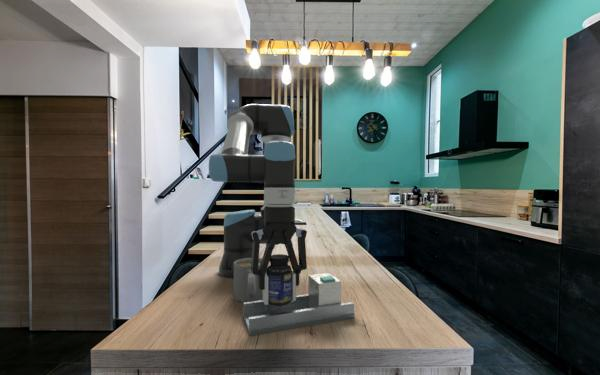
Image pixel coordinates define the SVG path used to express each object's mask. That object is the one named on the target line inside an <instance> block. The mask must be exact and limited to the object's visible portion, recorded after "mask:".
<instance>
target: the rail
mask: <svg viewBox="0 0 600 375" xmlns="http://www.w3.org/2000/svg"><path fill="white" fill-rule="evenodd" d="M242 317H243V320H244V323H245V324H244V325H245V326H246V329H247V332H248V336H249V337H251V336H256V335H263V334H267V333H274V332H279V331H286V330H291V329H297V328H303V327H304V328H305V327H309V326H315V325H322V324H326V323H334V322H339V321H344V320H350V319H351V320H352V319H355V303H354V302H353V301H350V302H349V301H348V302H343V303H342V281H341V280H340V279H339V278H337V277H336V276H334V275H333V274H331V273H329V272H326V273H317V274H308V292H307V294H305V293H304V294H299V295H297V294H296V301H292V300H291V302H290V303H289V304H287V305H284V306H274V305H270V304H269V303H268V305H265V304H264V302H263V299H262V300H259V301H251V302H243V303H242Z"/></svg>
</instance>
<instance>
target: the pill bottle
mask: <svg viewBox="0 0 600 375" xmlns="http://www.w3.org/2000/svg"><path fill="white" fill-rule="evenodd" d="M289 263H290V260H289V256H288V254H281V253H280V254H271V258H270V261H269V264H270V265H268V267H267V276H268V303H269V304H270V305H274V306H284V305H287V304H289V303H290V302H291V297H292V271H293V269H292V266H291V265H289Z"/></svg>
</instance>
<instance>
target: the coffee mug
mask: <svg viewBox="0 0 600 375" xmlns="http://www.w3.org/2000/svg"><path fill="white" fill-rule="evenodd" d="M251 261H252V258H244V259H239V260H236V261H235V262H234V277H233V298H234V300H235V301H238V302H240V303H241V302H243V303H244V302H251V301H259V300H263V290H260V288H259V276H258V275H254V274H253V273H252V271H251ZM261 261H262V258H261V257H259V262H258V269H259V267H260V264H261ZM266 274H267V271H266Z"/></svg>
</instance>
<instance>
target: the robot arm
mask: <svg viewBox="0 0 600 375" xmlns="http://www.w3.org/2000/svg"><path fill="white" fill-rule="evenodd" d="M293 112H294V111H293V110H292V108H291V106H289V105H286V104H280V103H279V104H264V103H262V104H259V103H250V104H249V103H248V104H246V105H243V106H240V107H239V108H237V109H235V110H234V111H233V112H232V113H231V114H230V116H229V117H228V119H227V124H226V126H227V127H226V128H227V133H226V136H225V139H224V143H223V146H222V148H221V149H222V150H221V151H220V152H221V153H216V154H215V153H214V154H211V155H210V156H209V158H208V159H209V160H208V174H209V179H210V180H211V181H213V182H217V183H219V182H221V183H264V186H263V204H264V205H263V206H262V207H260V213H256V210H255V209H245V210H239V211H233V212H229V213H226V214H225V216H224V217H223V219H224V220H223V226H222V227H223V253H222V254H223V255H222V257H221V260H220V262H219V267H218V274H219V275H220V276H222V277H225V278H234V262H235V261H236V260H239V259H244V258H252V261H251V271H252V273H253V274H254V275H258V276H259V288H260V290H263V299H262V300H263V302H264V304H265V305H268V276H267V274H266V271H267V268H268V266H269V264H270V258H271V255H273V251H274V249H275V247H276V245H277V246H278V245H284V247H285V249H286V253H287V255H288V256H289V263H290V267H291V269H292V297H291V300H292V301H296V296H297V294H296V293H297V291H296V290H297V286H300V274H301V273H302V271H306V270H307V269H308V263H307V252H306V251H307V248H306V246H307V245H306V237H307V233H308V231H307V229H304V228H298V227H297V226H296V223H295V222H296V212H295V211H296V208H295V206H293V205H295V204H296V203H295V202H296V197H295V195H296V192H295V191H296V189H295V188H296V186H295V185H296V184H295V180H296V178H295V177H296V151H295V150H296V149H295V147H296V146H295V145H294V143H293V142H291V137H292V136H294V135H295V119H294V113H293ZM251 135H260V139H261V140H262V142H263V143H264V148H263V149H264V151H263V154H248V152H249V146H250V136H251ZM294 235H296V238H297V254H298V255H297V256H298V259H297V257H296V253H295V249H294V244H293V241H292V239H293V237H294ZM265 244H266V245H265ZM261 245H265V249H264V251H263V255H262V258H261V259H262V261H261V264H260V267H259V269H258V262H259V258H260V247H261Z"/></svg>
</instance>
